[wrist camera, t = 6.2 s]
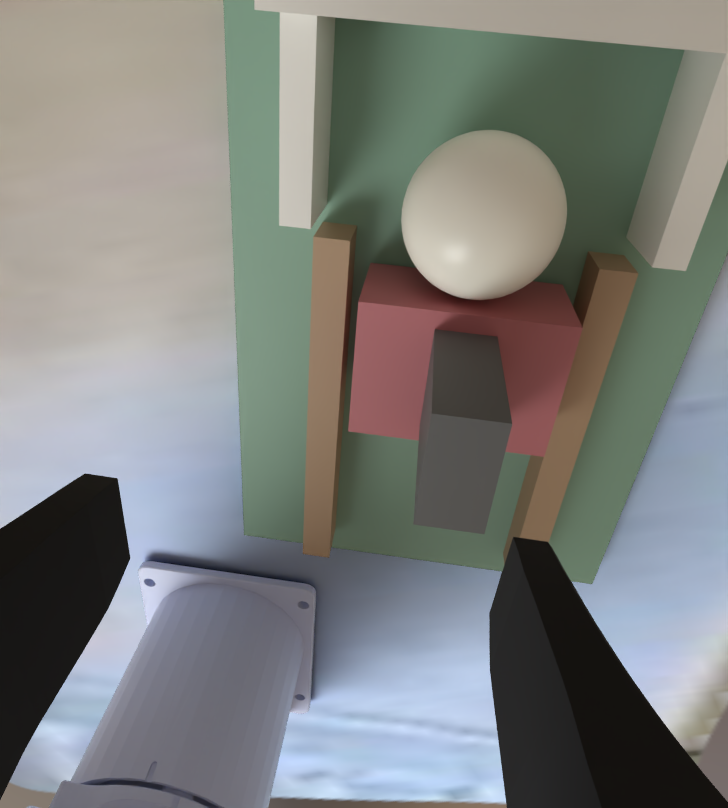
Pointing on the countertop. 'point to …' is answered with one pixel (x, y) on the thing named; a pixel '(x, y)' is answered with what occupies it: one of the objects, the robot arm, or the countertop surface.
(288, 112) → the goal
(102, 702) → the countertop surface
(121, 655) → the countertop surface
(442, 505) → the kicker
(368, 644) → the countertop surface
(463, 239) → the ball
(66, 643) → the robot arm
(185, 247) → the countertop surface
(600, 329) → the pitch
